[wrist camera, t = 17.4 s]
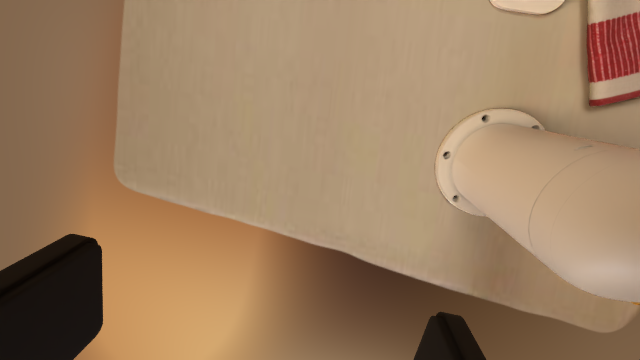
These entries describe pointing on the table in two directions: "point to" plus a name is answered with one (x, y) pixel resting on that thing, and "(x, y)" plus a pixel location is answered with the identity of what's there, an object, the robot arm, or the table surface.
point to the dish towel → (613, 50)
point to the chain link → (528, 5)
